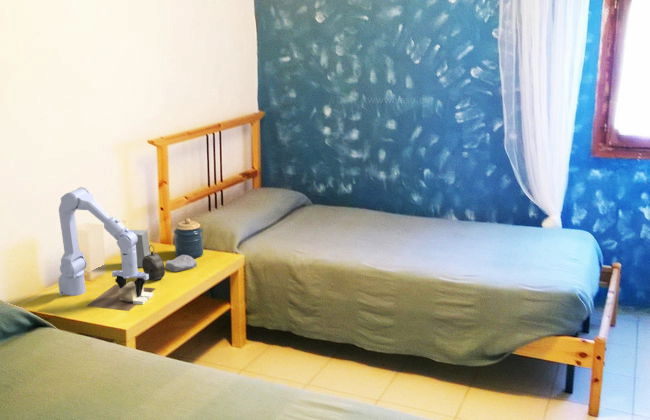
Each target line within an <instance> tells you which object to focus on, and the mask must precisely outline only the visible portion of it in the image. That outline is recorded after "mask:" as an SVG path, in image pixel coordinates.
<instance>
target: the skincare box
mask: <svg viewBox="0 0 650 420" xmlns="http://www.w3.org/2000/svg"><path fill="white" fill-rule="evenodd" d="M132 230H133V231H135V233H136V234H137V236H138V241H137V243H136V254H137V268H143V267H142V261H143V258H144V257H145V256H147V255H150V254H151V252H150V251H151V249H150V250H149V246H150V241H149V232H148V229H132ZM134 245H135V244H134Z"/></svg>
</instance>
